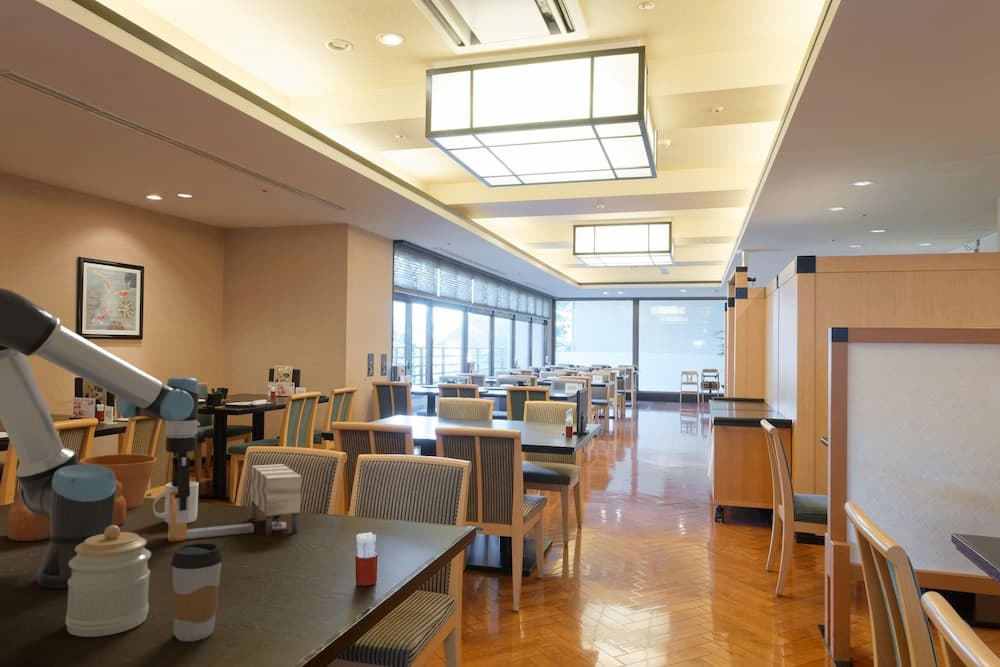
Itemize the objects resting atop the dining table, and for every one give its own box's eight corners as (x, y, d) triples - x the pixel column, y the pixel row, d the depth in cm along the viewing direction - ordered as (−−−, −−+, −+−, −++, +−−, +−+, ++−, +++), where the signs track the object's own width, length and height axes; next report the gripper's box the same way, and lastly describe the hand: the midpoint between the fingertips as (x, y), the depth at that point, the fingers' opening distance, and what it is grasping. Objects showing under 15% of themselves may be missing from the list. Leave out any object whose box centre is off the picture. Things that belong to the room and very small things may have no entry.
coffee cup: (205, 620, 122) (209, 539, 122) (228, 634, 116) (232, 548, 117) (159, 634, 115) (163, 548, 116) (181, 649, 110) (185, 558, 110)
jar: (161, 610, 126) (165, 517, 127) (124, 639, 113) (129, 536, 114) (92, 609, 126) (96, 516, 126) (47, 638, 113) (53, 534, 113)
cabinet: (299, 532, 182) (301, 476, 183) (265, 536, 178) (267, 478, 178) (280, 514, 201) (282, 464, 202) (249, 517, 197) (252, 465, 197)
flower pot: (169, 502, 214) (171, 456, 214) (115, 516, 193) (118, 466, 194) (117, 496, 219) (119, 452, 220) (59, 510, 199) (62, 461, 200)
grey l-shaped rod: (254, 532, 181) (255, 488, 181) (169, 541, 170) (171, 495, 171) (251, 529, 185) (253, 486, 185) (167, 537, 174) (170, 492, 174)
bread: (130, 525, 185) (133, 470, 186) (19, 545, 164) (23, 483, 164) (108, 517, 193) (111, 464, 194) (0, 535, 172) (3, 475, 173)
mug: (147, 522, 189) (148, 484, 189) (190, 515, 197) (192, 480, 197) (156, 528, 182) (158, 489, 183) (201, 521, 191) (203, 484, 191)
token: (287, 530, 185) (288, 524, 185) (269, 532, 183) (269, 526, 183) (283, 526, 190) (283, 520, 190) (265, 528, 187) (265, 522, 187)
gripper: (203, 441, 165) (201, 526, 165) (191, 429, 187) (189, 504, 186) (170, 443, 161) (167, 530, 161) (162, 430, 183) (159, 507, 182)
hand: (179, 516), depth 173 cm, fingers open, 13 cm apart
